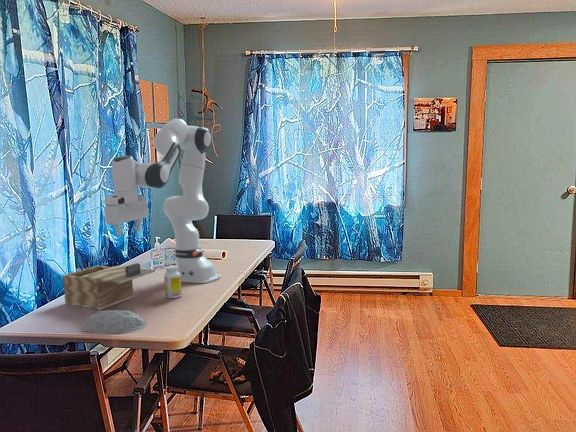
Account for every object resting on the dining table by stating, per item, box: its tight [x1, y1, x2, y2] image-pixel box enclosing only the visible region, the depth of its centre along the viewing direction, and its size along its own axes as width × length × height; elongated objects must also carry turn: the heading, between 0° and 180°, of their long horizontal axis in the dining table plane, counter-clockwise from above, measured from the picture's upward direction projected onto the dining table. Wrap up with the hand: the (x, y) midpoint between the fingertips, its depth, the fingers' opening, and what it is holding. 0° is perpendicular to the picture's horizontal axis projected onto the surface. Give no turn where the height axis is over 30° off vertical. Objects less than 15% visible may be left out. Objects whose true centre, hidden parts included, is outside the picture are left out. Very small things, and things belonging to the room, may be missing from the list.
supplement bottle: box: [163, 265, 183, 299], centre depth 224 cm, size 7×7×13 cm
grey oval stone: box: [81, 309, 148, 334], centre depth 191 cm, size 16×25×7 cm, turn 80°
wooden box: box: [62, 265, 134, 311], centre depth 221 cm, size 20×18×12 cm
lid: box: [81, 262, 156, 284], centre depth 215 cm, size 21×19×5 cm
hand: (129, 232), depth 211 cm, fingers open, 8 cm apart
